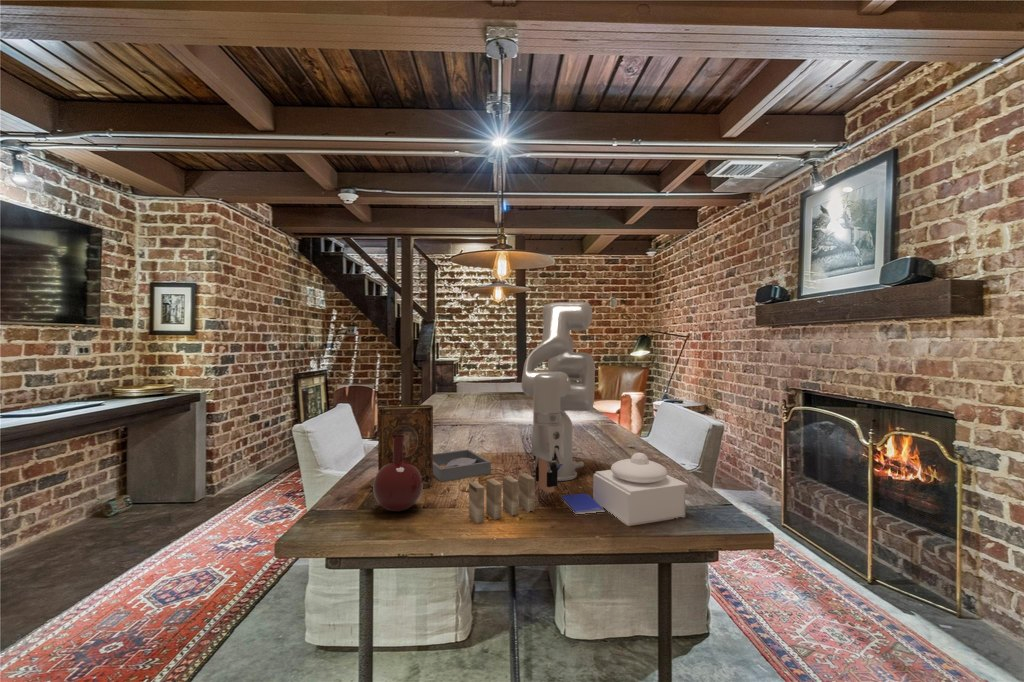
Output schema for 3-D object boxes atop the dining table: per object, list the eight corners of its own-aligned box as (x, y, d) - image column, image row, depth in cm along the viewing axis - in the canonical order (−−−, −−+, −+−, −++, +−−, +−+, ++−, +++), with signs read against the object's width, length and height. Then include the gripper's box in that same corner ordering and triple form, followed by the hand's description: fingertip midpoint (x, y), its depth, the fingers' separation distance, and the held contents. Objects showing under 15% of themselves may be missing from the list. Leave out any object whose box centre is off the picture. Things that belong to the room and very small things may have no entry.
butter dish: (593, 502, 132) (593, 446, 131) (646, 495, 138) (647, 442, 137) (628, 527, 115) (628, 463, 115) (687, 517, 121) (688, 457, 121)
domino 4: (525, 505, 129) (525, 473, 129) (534, 511, 125) (534, 478, 125) (518, 506, 128) (518, 474, 128) (528, 512, 124) (528, 479, 124)
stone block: (443, 481, 155) (471, 476, 154) (440, 467, 156) (469, 462, 154) (452, 472, 167) (479, 467, 166) (450, 458, 167) (476, 454, 166)
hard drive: (604, 508, 124) (587, 493, 136) (575, 511, 122) (561, 495, 134) (604, 514, 124) (587, 498, 136) (575, 517, 122) (561, 500, 134)
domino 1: (476, 515, 122) (476, 481, 122) (484, 522, 118) (484, 487, 117) (468, 516, 121) (468, 482, 121) (476, 523, 117) (476, 488, 116)
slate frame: (468, 459, 174) (468, 449, 174) (490, 473, 157) (490, 462, 157) (422, 466, 166) (422, 455, 165) (440, 481, 149) (440, 469, 149)
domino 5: (544, 486, 132) (544, 455, 132) (554, 491, 127) (554, 459, 127) (538, 487, 131) (538, 455, 131) (548, 492, 126) (548, 459, 126)
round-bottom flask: (363, 510, 125) (363, 437, 125) (404, 497, 135) (404, 429, 135) (391, 524, 116) (391, 445, 116) (432, 509, 126) (432, 436, 126)
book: (432, 482, 148) (432, 404, 148) (433, 488, 143) (433, 407, 142) (379, 485, 145) (379, 406, 144) (378, 491, 140) (377, 409, 139)
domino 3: (509, 508, 127) (509, 475, 127) (518, 514, 122) (518, 481, 122) (502, 509, 126) (502, 476, 126) (511, 516, 121) (511, 482, 121)
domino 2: (493, 511, 124) (492, 478, 124) (501, 518, 120) (501, 483, 120) (486, 513, 123) (486, 479, 123) (494, 519, 119) (494, 485, 119)
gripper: (576, 422, 123) (575, 490, 123) (541, 413, 138) (541, 473, 138) (552, 424, 120) (552, 494, 120) (519, 414, 135) (519, 477, 135)
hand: (546, 482), depth 129 cm, fingers closed on domino 5, 4 cm apart
